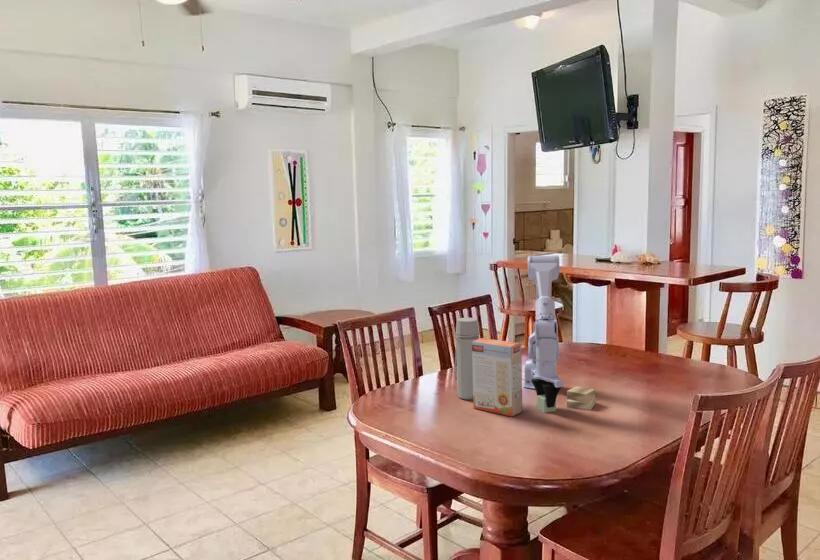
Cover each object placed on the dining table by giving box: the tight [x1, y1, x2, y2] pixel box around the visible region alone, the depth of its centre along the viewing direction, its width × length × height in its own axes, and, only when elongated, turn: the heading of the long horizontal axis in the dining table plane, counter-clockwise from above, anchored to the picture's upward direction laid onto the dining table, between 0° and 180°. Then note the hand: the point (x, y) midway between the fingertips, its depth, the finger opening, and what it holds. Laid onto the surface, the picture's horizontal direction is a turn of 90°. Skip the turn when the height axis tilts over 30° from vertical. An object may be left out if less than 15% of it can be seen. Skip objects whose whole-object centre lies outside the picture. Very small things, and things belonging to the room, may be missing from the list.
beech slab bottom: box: [566, 397, 596, 411], centre depth 202 cm, size 7×7×2 cm
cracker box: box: [472, 337, 523, 417], centre depth 198 cm, size 14×6×21 cm, turn 48°
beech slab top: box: [566, 385, 596, 403], centre depth 202 cm, size 6×6×2 cm
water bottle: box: [453, 317, 480, 401], centre depth 212 cm, size 9×8×25 cm
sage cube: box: [536, 394, 557, 413], centre depth 199 cm, size 4×4×4 cm
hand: (546, 404), depth 199 cm, fingers closed on sage cube, 4 cm apart
